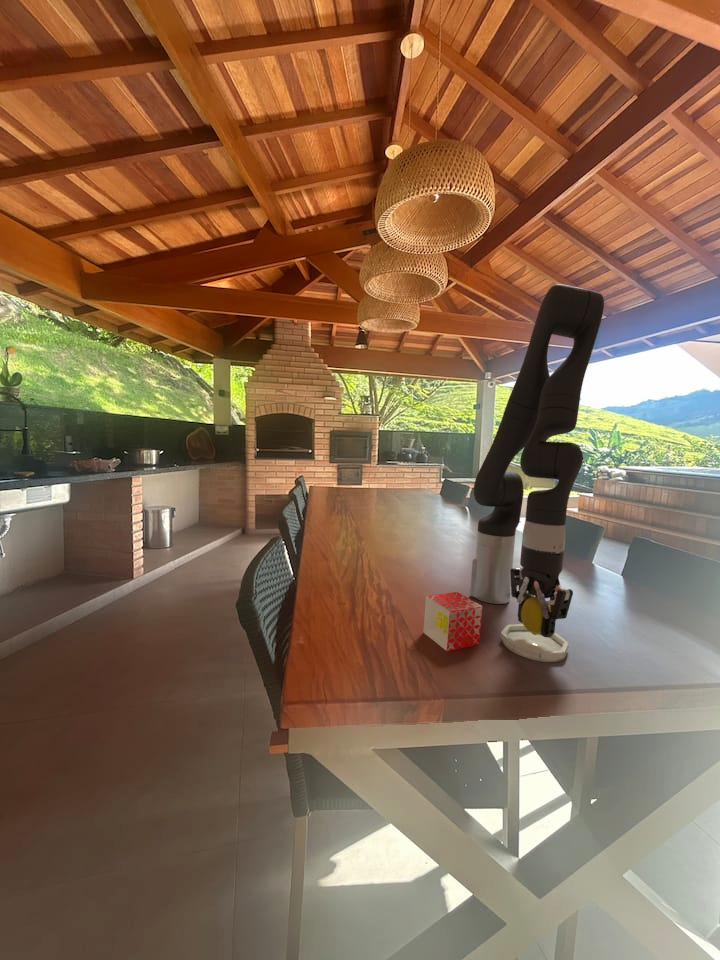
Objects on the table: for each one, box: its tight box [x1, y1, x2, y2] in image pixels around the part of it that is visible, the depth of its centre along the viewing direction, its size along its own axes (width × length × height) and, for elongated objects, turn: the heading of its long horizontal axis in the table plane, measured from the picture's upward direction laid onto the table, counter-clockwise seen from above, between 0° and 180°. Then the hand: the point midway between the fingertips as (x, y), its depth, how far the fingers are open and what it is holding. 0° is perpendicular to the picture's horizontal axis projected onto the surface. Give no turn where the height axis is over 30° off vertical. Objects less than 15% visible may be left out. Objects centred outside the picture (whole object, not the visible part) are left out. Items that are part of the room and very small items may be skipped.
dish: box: [500, 623, 570, 663], centre depth 79 cm, size 12×12×2 cm
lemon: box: [521, 596, 551, 635], centre depth 79 cm, size 6×6×8 cm
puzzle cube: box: [423, 591, 483, 652], centre depth 81 cm, size 8×8×8 cm
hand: (534, 628), depth 79 cm, fingers closed on lemon, 5 cm apart
